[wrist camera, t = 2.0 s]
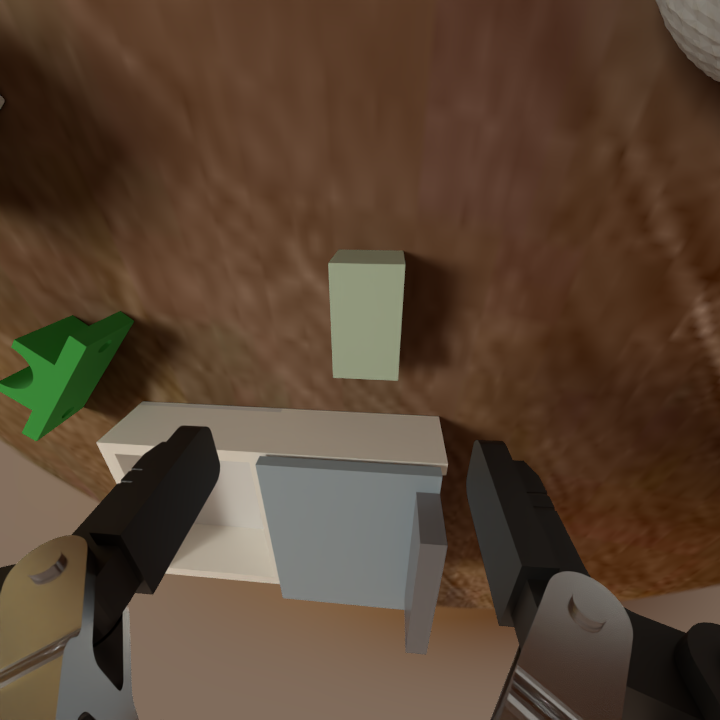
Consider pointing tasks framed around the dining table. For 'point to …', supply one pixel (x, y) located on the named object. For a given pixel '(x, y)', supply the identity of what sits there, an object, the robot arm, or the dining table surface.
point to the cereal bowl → (695, 31)
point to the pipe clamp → (62, 368)
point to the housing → (239, 475)
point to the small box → (1, 101)
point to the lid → (358, 535)
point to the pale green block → (366, 313)
